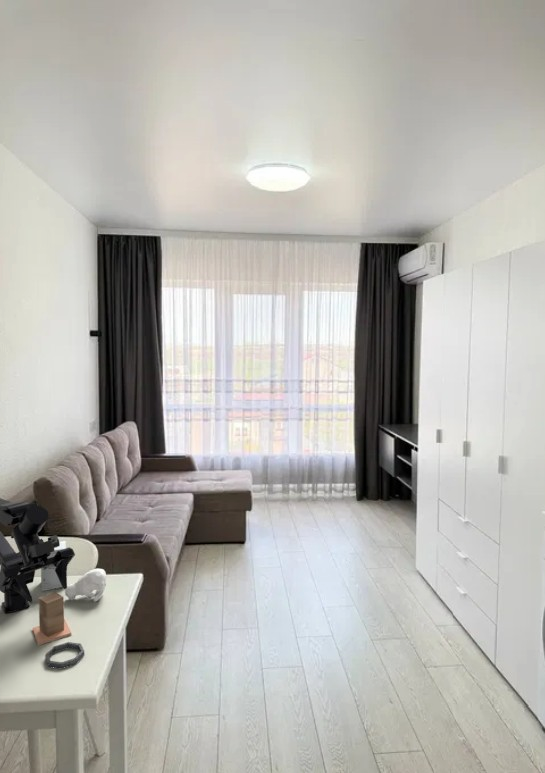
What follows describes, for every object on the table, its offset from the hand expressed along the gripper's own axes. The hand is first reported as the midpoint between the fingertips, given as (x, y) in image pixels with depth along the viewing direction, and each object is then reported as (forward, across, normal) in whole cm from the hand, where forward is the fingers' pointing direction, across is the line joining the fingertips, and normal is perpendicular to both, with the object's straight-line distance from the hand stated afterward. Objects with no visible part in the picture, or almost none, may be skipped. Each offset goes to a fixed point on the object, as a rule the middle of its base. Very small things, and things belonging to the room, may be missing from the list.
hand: (49, 595), depth 131 cm
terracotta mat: (+8, 0, +6) cm, 10 cm away
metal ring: (+17, -3, -3) cm, 17 cm away
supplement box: (-10, +14, +24) cm, 30 cm away
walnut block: (+7, 0, +6) cm, 9 cm away
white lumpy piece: (+1, +15, +14) cm, 21 cm away
